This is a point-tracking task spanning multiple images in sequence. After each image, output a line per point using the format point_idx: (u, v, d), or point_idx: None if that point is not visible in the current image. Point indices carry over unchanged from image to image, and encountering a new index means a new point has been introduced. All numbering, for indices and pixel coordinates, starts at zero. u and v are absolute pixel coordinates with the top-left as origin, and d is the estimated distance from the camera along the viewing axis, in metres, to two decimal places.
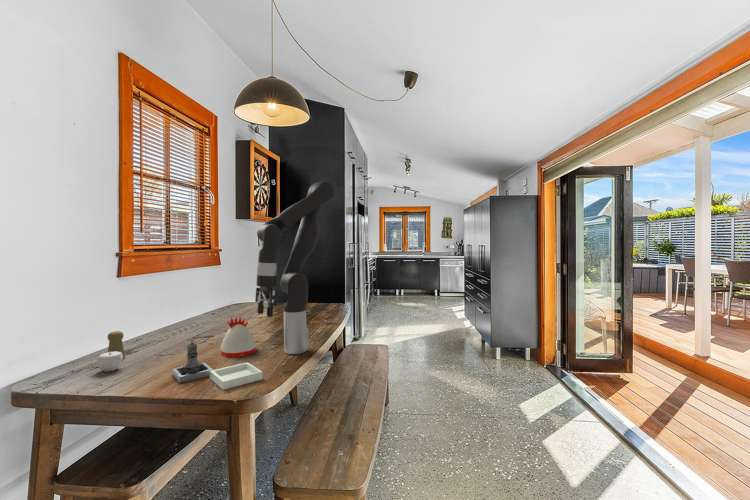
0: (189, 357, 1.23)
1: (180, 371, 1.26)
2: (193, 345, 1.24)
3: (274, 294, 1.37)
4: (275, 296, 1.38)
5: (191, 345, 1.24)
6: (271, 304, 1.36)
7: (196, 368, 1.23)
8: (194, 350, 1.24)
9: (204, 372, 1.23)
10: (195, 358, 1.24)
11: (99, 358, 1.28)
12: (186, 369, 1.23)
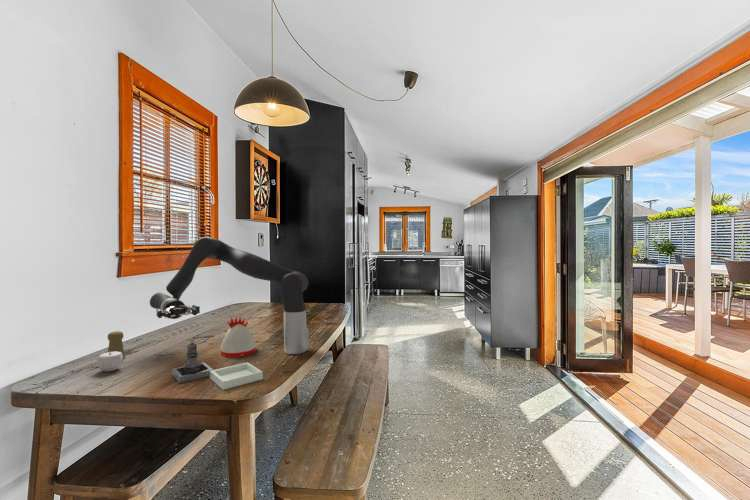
0: (189, 357, 1.23)
1: (180, 371, 1.26)
2: (193, 345, 1.24)
3: None
4: (157, 311, 1.34)
5: (191, 345, 1.24)
6: (158, 316, 1.32)
7: (196, 368, 1.23)
8: (194, 350, 1.24)
9: (204, 372, 1.23)
10: (195, 358, 1.24)
11: (99, 358, 1.28)
12: (186, 369, 1.23)
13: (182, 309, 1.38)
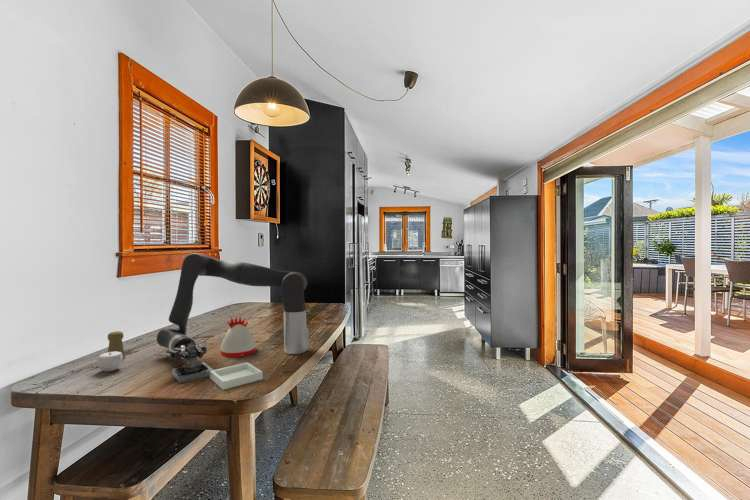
0: (189, 357, 1.23)
1: (180, 371, 1.26)
2: (193, 345, 1.24)
3: (168, 353, 1.25)
4: (169, 352, 1.25)
5: (191, 345, 1.24)
6: (175, 358, 1.23)
7: (196, 368, 1.23)
8: (194, 350, 1.24)
9: (204, 372, 1.23)
10: (195, 358, 1.24)
11: (99, 358, 1.28)
12: (186, 369, 1.23)
13: None
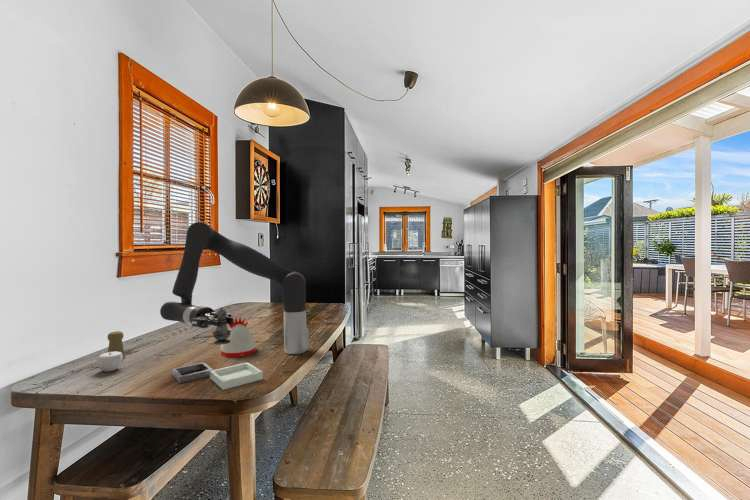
0: None
1: (180, 371, 1.26)
2: (223, 311, 1.21)
3: (195, 321, 1.19)
4: (197, 320, 1.19)
5: (221, 311, 1.20)
6: (204, 325, 1.19)
7: (227, 334, 1.20)
8: (224, 316, 1.21)
9: (204, 372, 1.23)
10: (225, 325, 1.21)
11: (99, 358, 1.28)
12: (217, 336, 1.19)
13: (214, 317, 1.24)
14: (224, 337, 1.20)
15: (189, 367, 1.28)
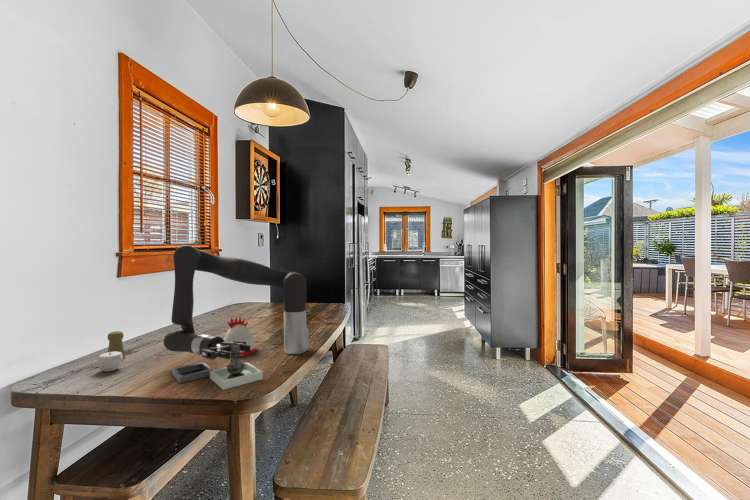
0: (234, 358, 1.20)
1: (180, 371, 1.26)
2: (238, 345, 1.20)
3: (204, 353, 1.18)
4: (205, 352, 1.18)
5: (236, 345, 1.20)
6: (211, 358, 1.16)
7: (242, 368, 1.20)
8: (239, 350, 1.21)
9: (204, 372, 1.23)
10: (239, 358, 1.21)
11: (99, 358, 1.28)
12: (232, 370, 1.18)
13: (229, 346, 1.24)
14: (239, 371, 1.19)
15: (189, 367, 1.28)
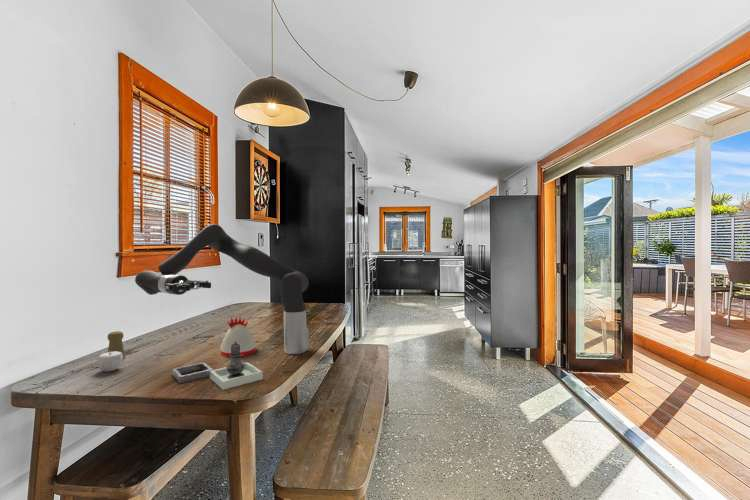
0: (234, 358, 1.20)
1: (180, 371, 1.26)
2: (238, 345, 1.20)
3: (167, 286, 1.30)
4: (168, 285, 1.30)
5: (236, 345, 1.20)
6: (173, 290, 1.28)
7: (242, 368, 1.20)
8: (239, 350, 1.21)
9: (204, 372, 1.23)
10: (239, 358, 1.21)
11: (99, 358, 1.28)
12: (232, 370, 1.18)
13: (192, 283, 1.36)
14: (239, 371, 1.19)
15: (189, 367, 1.28)
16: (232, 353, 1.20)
